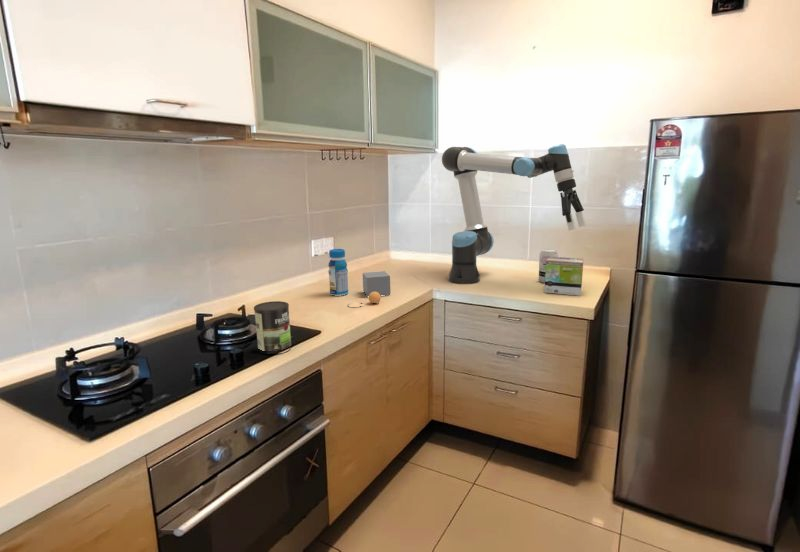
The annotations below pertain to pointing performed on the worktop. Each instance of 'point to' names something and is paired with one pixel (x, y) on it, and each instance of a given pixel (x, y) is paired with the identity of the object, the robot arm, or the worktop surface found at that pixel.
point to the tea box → (563, 275)
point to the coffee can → (272, 326)
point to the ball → (374, 297)
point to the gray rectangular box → (376, 283)
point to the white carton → (542, 262)
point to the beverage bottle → (338, 272)
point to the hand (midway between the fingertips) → (577, 228)
